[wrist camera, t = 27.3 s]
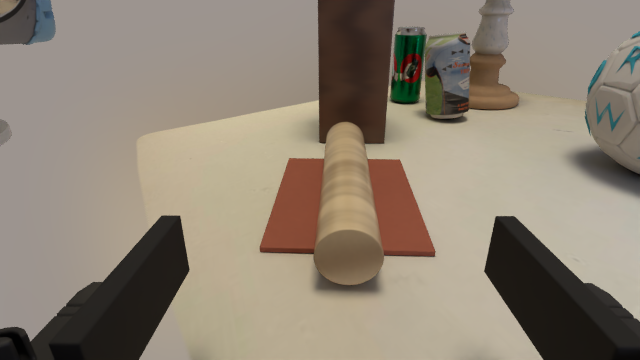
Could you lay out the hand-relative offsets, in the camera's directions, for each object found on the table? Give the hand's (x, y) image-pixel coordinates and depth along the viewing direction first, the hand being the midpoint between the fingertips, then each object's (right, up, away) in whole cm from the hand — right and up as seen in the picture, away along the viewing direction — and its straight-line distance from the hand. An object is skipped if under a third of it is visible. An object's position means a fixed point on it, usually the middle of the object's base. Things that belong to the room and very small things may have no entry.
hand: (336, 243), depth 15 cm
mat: (+2, +1, +17) cm, 17 cm away
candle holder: (+27, +16, +48) cm, 57 cm away
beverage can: (+18, +12, +39) cm, 45 cm away
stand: (+3, +9, +34) cm, 35 cm away
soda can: (+14, +17, +48) cm, 53 cm away
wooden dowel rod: (+2, +1, +15) cm, 15 cm away
